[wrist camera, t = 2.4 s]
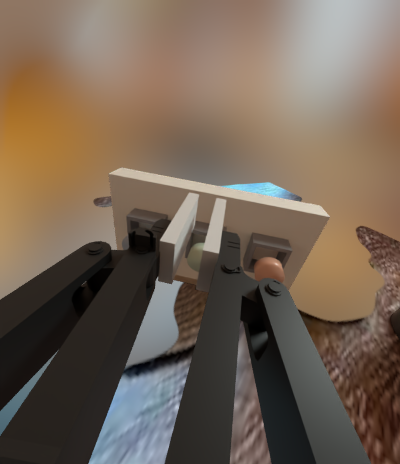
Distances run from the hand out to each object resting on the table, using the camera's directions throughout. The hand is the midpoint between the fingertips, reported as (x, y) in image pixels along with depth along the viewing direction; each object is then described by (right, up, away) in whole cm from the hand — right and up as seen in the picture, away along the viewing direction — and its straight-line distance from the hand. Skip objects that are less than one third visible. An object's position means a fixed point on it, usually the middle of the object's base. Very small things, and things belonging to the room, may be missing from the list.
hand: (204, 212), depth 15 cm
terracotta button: (+9, -9, +14) cm, 19 cm away
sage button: (0, -7, +15) cm, 17 cm away
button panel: (-1, -11, +27) cm, 29 cm away
